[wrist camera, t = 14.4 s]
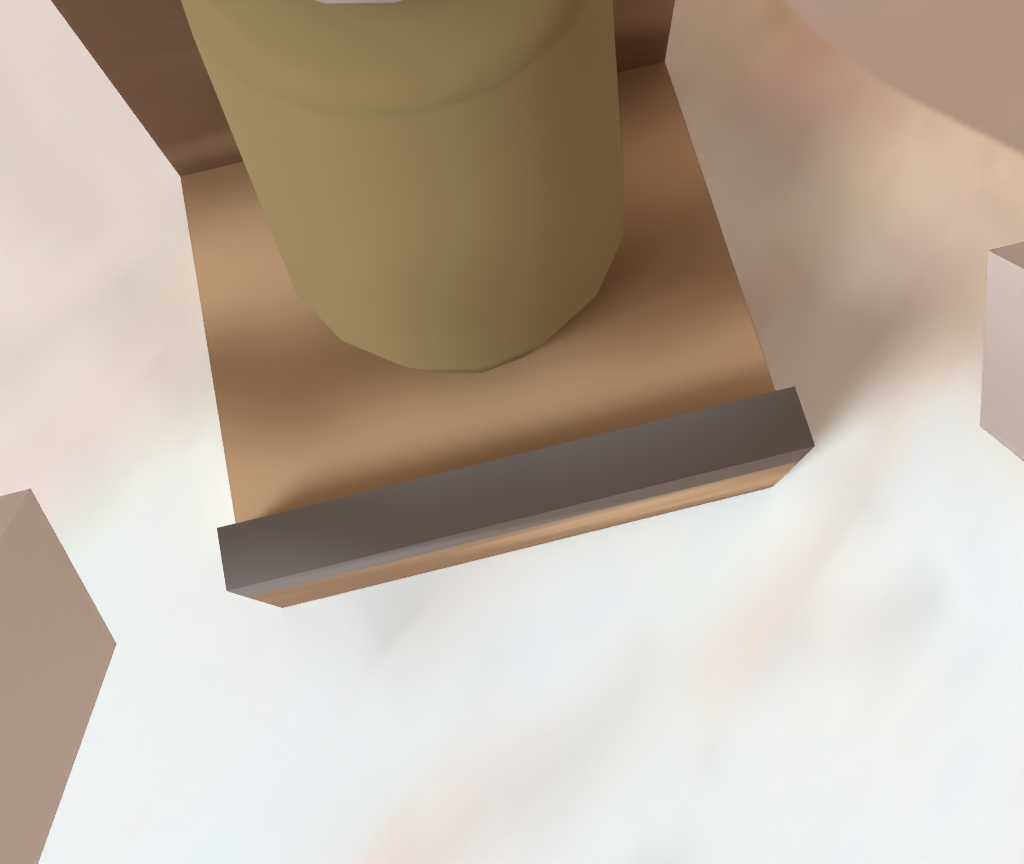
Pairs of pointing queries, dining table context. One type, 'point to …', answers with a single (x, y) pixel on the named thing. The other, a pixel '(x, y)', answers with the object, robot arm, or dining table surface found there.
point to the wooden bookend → (458, 396)
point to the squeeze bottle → (428, 163)
